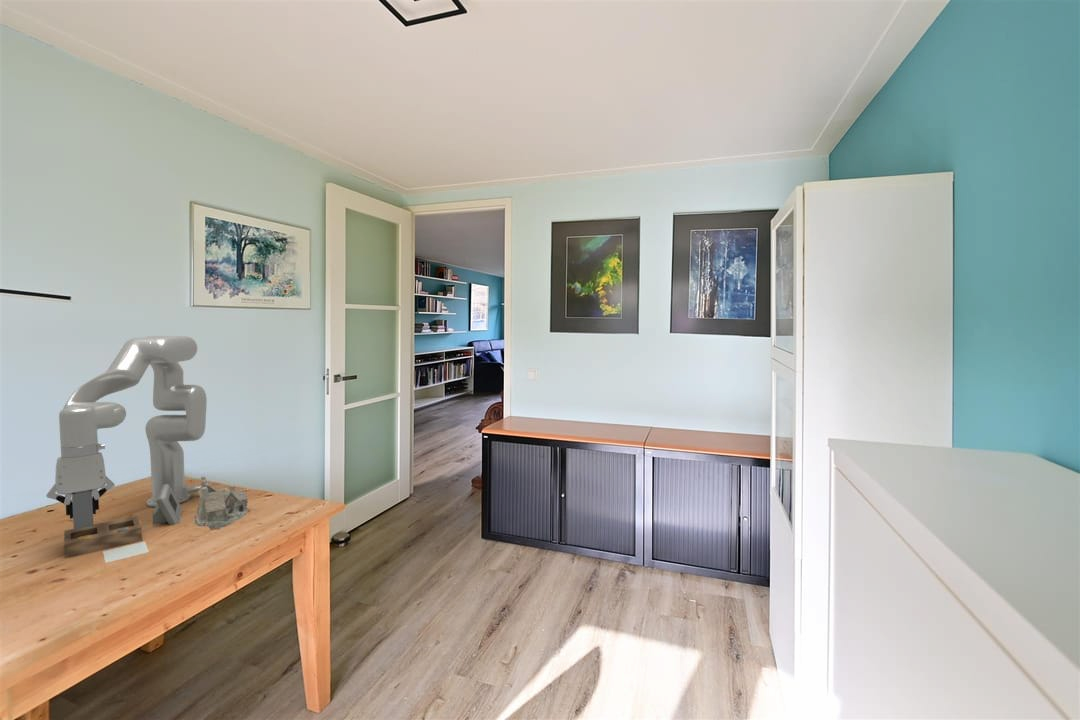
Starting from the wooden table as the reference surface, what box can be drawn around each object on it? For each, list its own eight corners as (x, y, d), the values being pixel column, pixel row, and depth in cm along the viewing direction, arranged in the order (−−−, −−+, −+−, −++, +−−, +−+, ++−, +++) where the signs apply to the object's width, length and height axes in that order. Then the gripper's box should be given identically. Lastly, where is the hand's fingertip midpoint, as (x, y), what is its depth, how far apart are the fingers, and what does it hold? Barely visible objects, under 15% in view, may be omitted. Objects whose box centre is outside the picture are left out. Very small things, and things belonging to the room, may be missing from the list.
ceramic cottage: (191, 532, 148) (193, 484, 148) (193, 517, 162) (195, 472, 162) (250, 525, 157) (252, 479, 157) (247, 510, 170) (249, 468, 170)
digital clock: (177, 528, 151) (176, 495, 150) (142, 533, 148) (141, 499, 147) (192, 510, 166) (191, 480, 165) (160, 513, 163) (159, 483, 162)
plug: (92, 521, 138) (91, 486, 137) (93, 525, 135) (91, 489, 135) (73, 525, 135) (71, 489, 135) (73, 529, 132) (71, 493, 132)
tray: (145, 545, 139) (144, 541, 139) (149, 556, 133) (148, 552, 133) (103, 555, 133) (103, 551, 133) (105, 567, 127) (105, 562, 127)
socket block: (137, 531, 149) (136, 514, 148) (142, 544, 140) (141, 526, 140) (65, 547, 137) (64, 529, 137) (65, 562, 129) (64, 543, 128)
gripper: (118, 443, 142) (120, 504, 144) (37, 453, 131) (40, 519, 132) (120, 448, 137) (123, 511, 138) (36, 459, 125) (39, 527, 127)
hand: (82, 514), depth 135 cm, fingers closed on plug, 4 cm apart
